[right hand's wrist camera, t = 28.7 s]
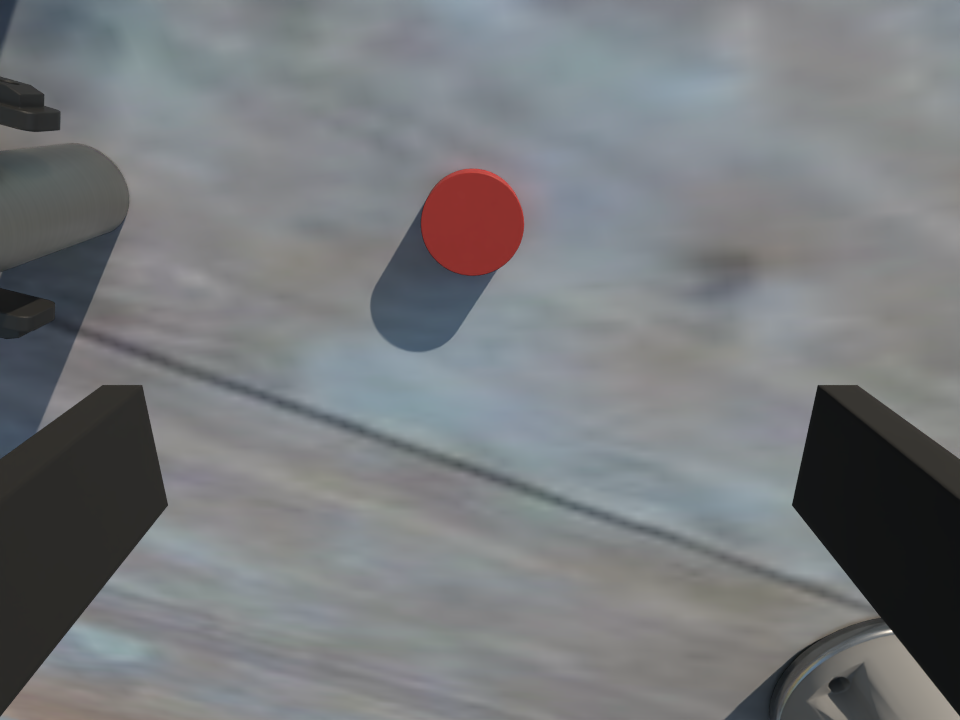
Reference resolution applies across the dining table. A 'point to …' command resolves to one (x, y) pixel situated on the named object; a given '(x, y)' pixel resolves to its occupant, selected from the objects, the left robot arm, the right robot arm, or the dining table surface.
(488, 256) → the lid
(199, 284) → the dining table surface
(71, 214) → the gray cylinder
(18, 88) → the left robot arm
